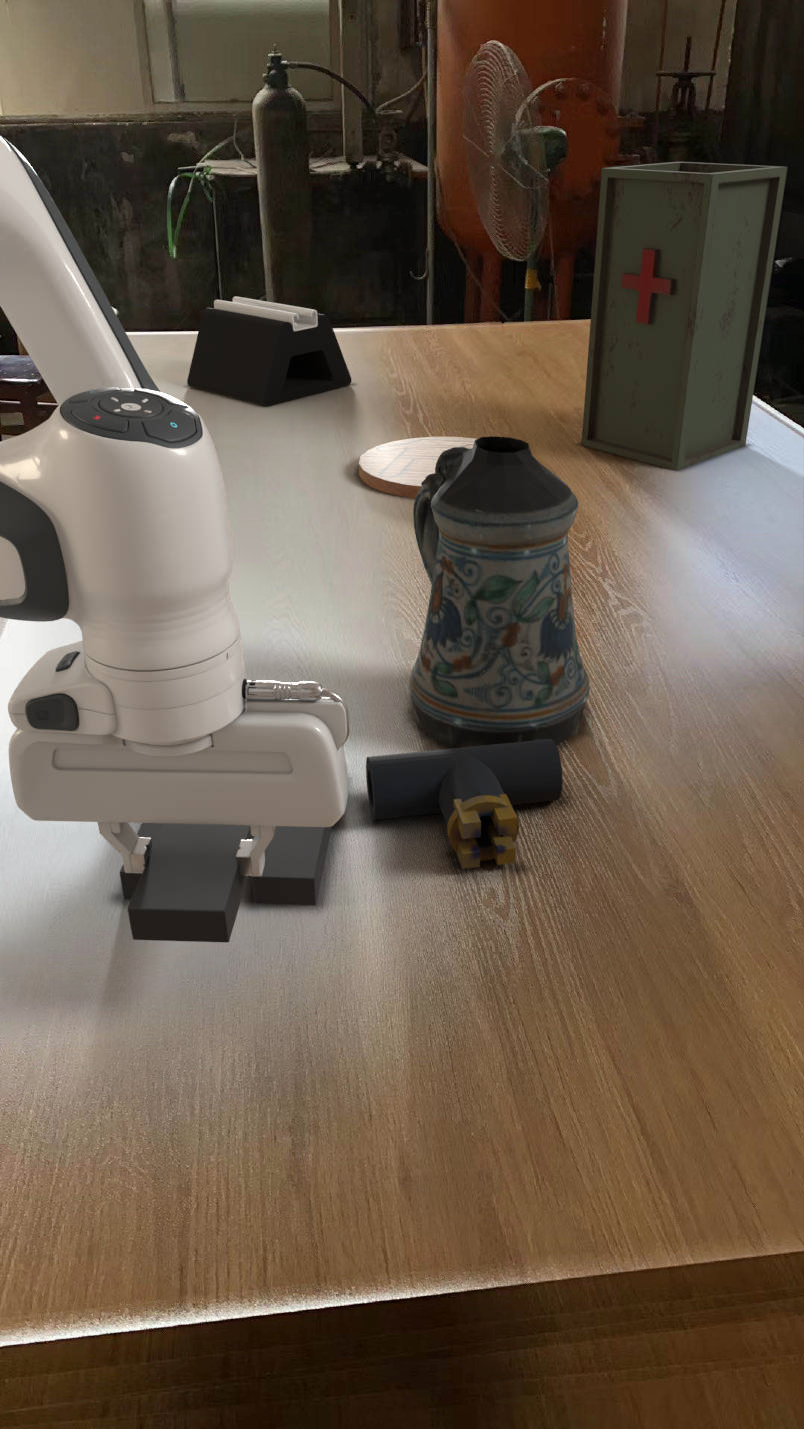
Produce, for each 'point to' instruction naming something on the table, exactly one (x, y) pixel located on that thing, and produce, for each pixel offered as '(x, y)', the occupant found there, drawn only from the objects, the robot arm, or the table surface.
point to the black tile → (190, 884)
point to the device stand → (266, 352)
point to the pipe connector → (468, 791)
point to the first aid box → (679, 308)
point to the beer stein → (497, 600)
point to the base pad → (271, 865)
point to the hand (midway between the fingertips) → (195, 869)
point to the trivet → (405, 463)
